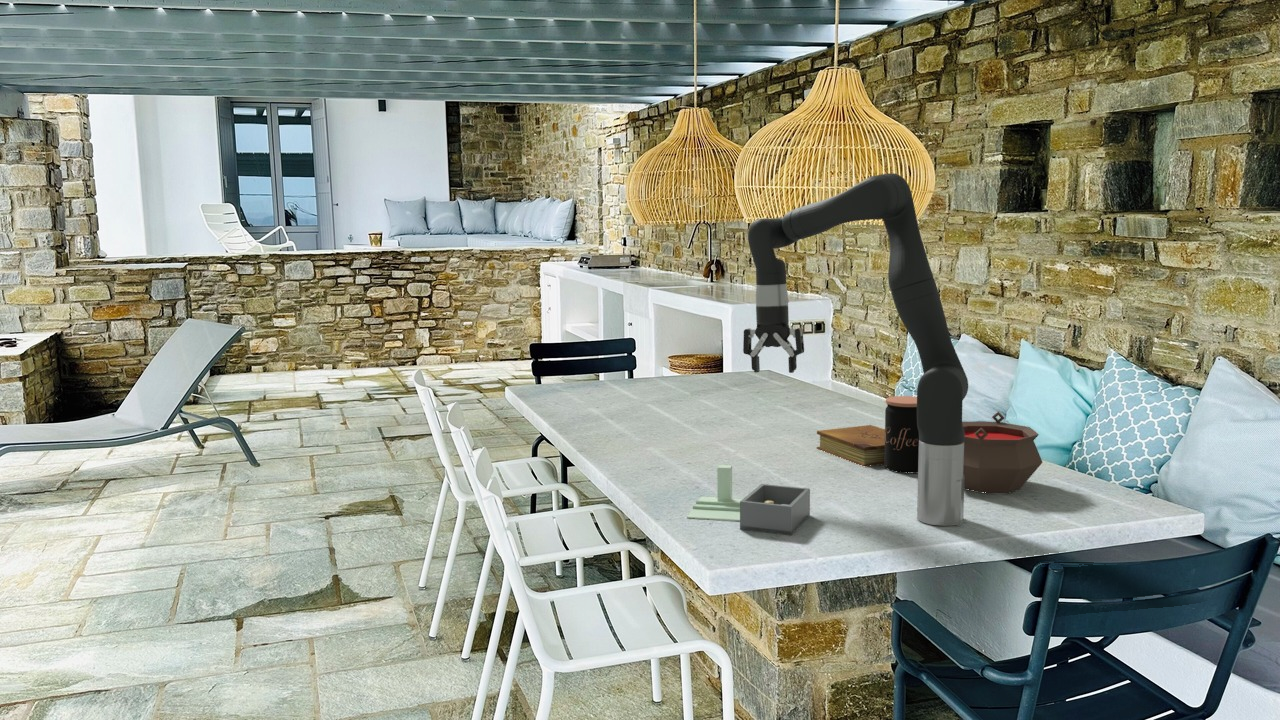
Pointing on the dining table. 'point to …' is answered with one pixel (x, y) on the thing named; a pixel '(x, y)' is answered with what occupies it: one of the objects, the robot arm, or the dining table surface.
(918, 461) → the robot arm
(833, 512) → the dining table surface
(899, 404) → the coffee jar
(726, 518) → the lid
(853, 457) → the diary
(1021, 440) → the brown faceted pot
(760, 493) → the tub
